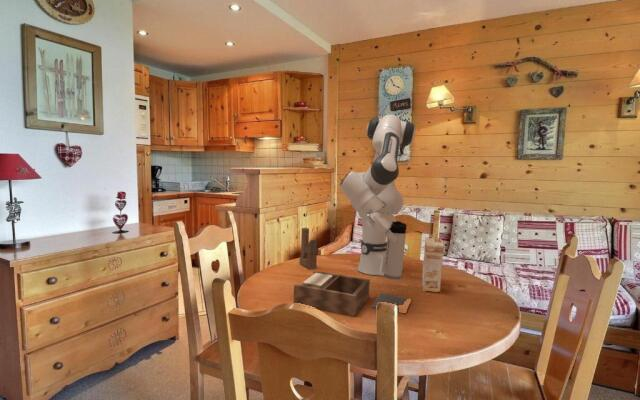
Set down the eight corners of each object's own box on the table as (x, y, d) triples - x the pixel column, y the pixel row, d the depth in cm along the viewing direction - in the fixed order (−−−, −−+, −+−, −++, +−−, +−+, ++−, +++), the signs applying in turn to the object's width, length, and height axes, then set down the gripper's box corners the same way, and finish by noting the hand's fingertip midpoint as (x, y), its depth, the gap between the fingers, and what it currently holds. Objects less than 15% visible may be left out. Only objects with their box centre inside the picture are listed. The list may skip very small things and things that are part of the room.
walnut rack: (293, 304, 128) (294, 285, 127) (314, 287, 146) (314, 270, 145) (354, 316, 120) (355, 296, 119) (368, 297, 137) (369, 279, 136)
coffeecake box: (440, 293, 144) (444, 246, 141) (422, 291, 145) (425, 244, 143) (438, 281, 158) (442, 238, 156) (421, 279, 160) (425, 237, 158)
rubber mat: (380, 294, 140) (380, 293, 140) (411, 300, 136) (412, 298, 136) (371, 307, 127) (371, 306, 127) (406, 314, 123) (406, 312, 123)
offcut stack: (301, 302, 130) (302, 282, 129) (314, 290, 142) (315, 272, 141) (320, 306, 128) (321, 286, 127) (332, 294, 140) (333, 275, 139)
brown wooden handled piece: (309, 269, 169) (311, 232, 167) (299, 263, 178) (300, 227, 176) (316, 268, 171) (317, 231, 169) (305, 262, 180) (306, 227, 178)
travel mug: (401, 275, 133) (407, 222, 131) (400, 280, 127) (406, 225, 124) (384, 272, 135) (390, 220, 132) (382, 277, 128) (388, 223, 126)
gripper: (372, 206, 120) (399, 238, 118) (385, 201, 139) (408, 228, 137) (358, 218, 123) (385, 250, 120) (373, 211, 141) (396, 238, 139)
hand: (398, 238), depth 129 cm, fingers closed on travel mug, 6 cm apart
